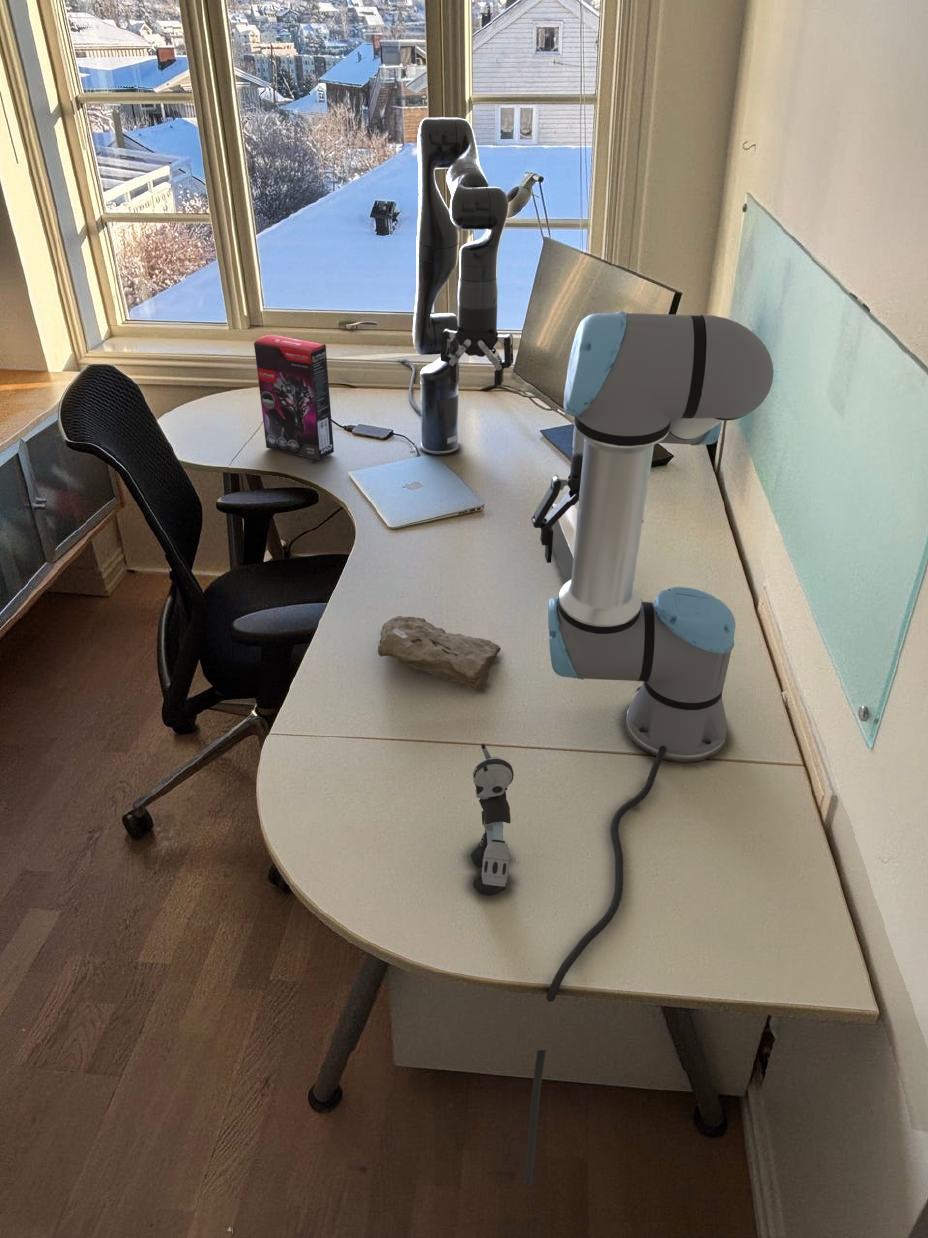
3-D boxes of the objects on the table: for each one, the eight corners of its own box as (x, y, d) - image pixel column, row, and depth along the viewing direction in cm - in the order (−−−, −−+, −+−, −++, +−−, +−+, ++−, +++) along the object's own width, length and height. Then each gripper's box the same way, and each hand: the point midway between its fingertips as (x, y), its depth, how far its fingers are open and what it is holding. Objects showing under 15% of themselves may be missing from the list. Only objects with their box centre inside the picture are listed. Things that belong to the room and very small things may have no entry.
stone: (354, 663, 151) (360, 631, 149) (385, 632, 165) (392, 602, 162) (474, 706, 148) (483, 673, 145) (496, 671, 161) (504, 640, 159)
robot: (515, 932, 112) (522, 815, 100) (475, 934, 111) (478, 816, 100) (502, 814, 128) (507, 701, 117) (467, 815, 128) (468, 702, 117)
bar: (596, 602, 173) (600, 563, 169) (572, 603, 173) (576, 564, 168) (571, 538, 194) (574, 502, 189) (549, 539, 194) (552, 503, 189)
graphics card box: (263, 448, 231) (250, 340, 216) (280, 439, 236) (269, 332, 221) (320, 462, 224) (310, 351, 209) (336, 452, 230) (328, 343, 214)
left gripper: (518, 299, 177) (515, 382, 186) (447, 293, 180) (447, 375, 189) (509, 310, 171) (506, 394, 180) (436, 304, 174) (436, 387, 183)
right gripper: (657, 440, 164) (644, 546, 176) (519, 444, 162) (514, 551, 174) (669, 456, 158) (654, 565, 170) (526, 461, 156) (520, 570, 167)
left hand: (476, 384), depth 184 cm, fingers open, 8 cm apart
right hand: (583, 558), depth 172 cm, fingers open, 13 cm apart
